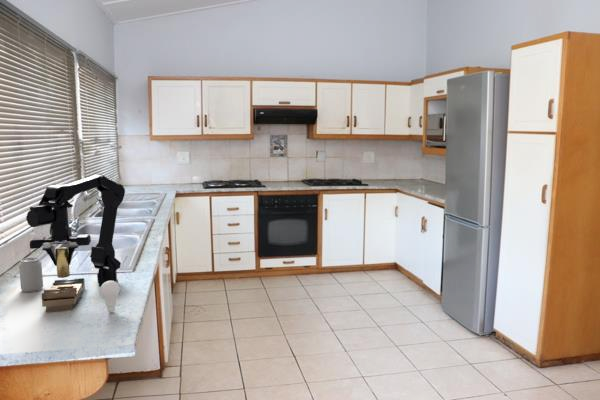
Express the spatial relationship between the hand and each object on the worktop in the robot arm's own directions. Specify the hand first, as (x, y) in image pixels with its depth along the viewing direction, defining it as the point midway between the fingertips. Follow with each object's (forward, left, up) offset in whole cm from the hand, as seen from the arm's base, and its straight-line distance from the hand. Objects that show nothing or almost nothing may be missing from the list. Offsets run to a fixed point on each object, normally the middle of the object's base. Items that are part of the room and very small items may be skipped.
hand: (62, 265), depth 176 cm
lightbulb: (-17, +17, -13) cm, 27 cm away
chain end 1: (0, +3, -13) cm, 13 cm away
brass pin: (0, 0, -4) cm, 4 cm away
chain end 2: (0, -3, -13) cm, 13 cm away
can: (+14, -15, -13) cm, 24 cm away
